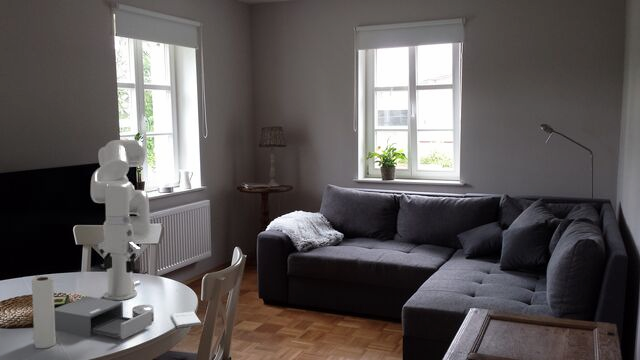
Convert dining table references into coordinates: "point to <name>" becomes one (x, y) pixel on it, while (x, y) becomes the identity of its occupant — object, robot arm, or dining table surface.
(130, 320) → the tray
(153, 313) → the pedestal
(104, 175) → the robot arm
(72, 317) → the grey drawer box
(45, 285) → the paper towel roll
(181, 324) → the external hard drive
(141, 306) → the disc
